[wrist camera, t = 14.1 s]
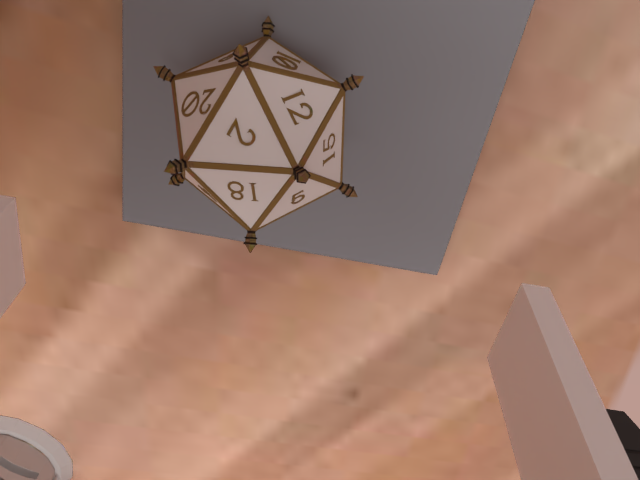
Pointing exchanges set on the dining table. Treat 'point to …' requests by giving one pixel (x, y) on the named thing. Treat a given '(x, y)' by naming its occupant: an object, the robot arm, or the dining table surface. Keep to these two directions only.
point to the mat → (360, 114)
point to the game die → (259, 131)
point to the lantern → (31, 453)
